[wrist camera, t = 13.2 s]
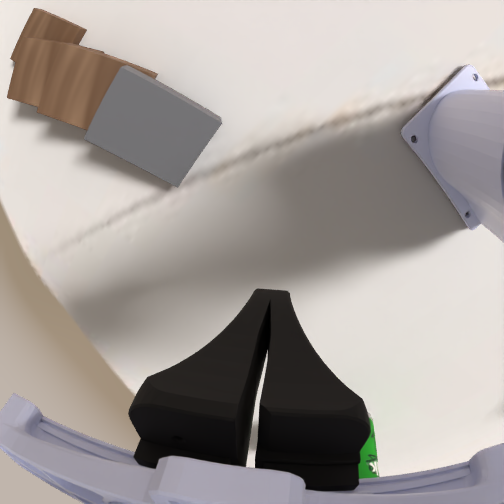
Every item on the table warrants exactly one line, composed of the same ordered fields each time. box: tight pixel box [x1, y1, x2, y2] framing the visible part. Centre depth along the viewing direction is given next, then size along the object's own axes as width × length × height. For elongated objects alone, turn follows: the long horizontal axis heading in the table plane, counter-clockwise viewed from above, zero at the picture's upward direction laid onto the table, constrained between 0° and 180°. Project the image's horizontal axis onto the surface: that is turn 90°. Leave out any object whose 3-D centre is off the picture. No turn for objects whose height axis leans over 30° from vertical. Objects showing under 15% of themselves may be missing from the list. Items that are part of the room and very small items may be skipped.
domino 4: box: [84, 65, 222, 187], centre depth 17 cm, size 2×5×7 cm
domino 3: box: [37, 43, 158, 130], centre depth 16 cm, size 2×5×7 cm
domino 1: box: [10, 8, 87, 62], centre depth 16 cm, size 2×5×7 cm
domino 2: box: [7, 37, 104, 107], centre depth 16 cm, size 2×5×7 cm
